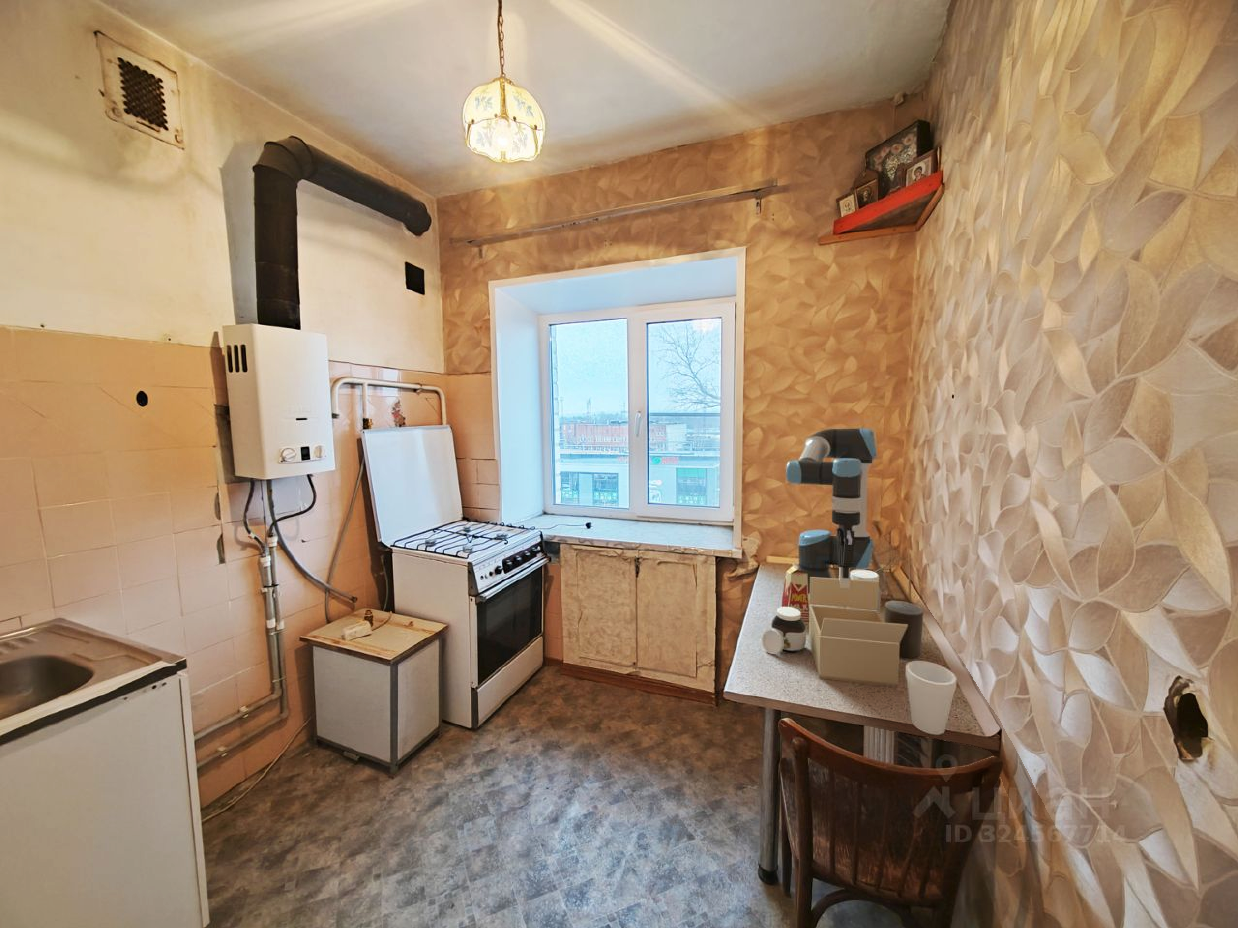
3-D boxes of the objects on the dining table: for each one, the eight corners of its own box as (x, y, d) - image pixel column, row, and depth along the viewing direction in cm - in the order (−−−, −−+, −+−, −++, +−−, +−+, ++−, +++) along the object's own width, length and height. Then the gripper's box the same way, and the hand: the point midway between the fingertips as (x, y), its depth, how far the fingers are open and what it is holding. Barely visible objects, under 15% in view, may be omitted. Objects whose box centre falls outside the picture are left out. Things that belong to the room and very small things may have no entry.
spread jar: (807, 645, 139) (808, 609, 138) (801, 663, 130) (802, 625, 128) (768, 636, 145) (768, 602, 144) (759, 653, 136) (759, 616, 134)
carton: (808, 641, 141) (809, 605, 140) (875, 647, 136) (877, 610, 135) (819, 678, 122) (820, 636, 121) (897, 687, 117) (899, 644, 116)
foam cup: (894, 712, 108) (896, 662, 106) (930, 709, 108) (933, 659, 107) (924, 741, 98) (927, 686, 97) (963, 737, 99) (967, 682, 98)
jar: (847, 628, 148) (848, 576, 146) (846, 616, 157) (847, 566, 155) (881, 634, 144) (883, 580, 142) (878, 620, 153) (880, 570, 151)
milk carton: (812, 625, 152) (813, 568, 150) (784, 623, 154) (784, 567, 151) (807, 612, 161) (808, 559, 158) (780, 611, 163) (780, 558, 160)
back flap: (879, 581, 133) (878, 581, 133) (810, 577, 138) (810, 577, 138) (877, 609, 135) (877, 608, 135) (809, 604, 140) (809, 603, 140)
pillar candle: (901, 661, 129) (904, 612, 127) (875, 644, 138) (877, 598, 136) (929, 656, 131) (932, 607, 129) (901, 640, 140) (903, 594, 139)
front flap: (824, 617, 115) (824, 618, 115) (907, 624, 110) (907, 625, 110) (820, 634, 121) (820, 635, 121) (899, 641, 116) (899, 643, 116)
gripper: (828, 505, 140) (826, 578, 143) (836, 514, 128) (835, 594, 130) (854, 506, 138) (852, 580, 141) (865, 515, 126) (863, 596, 128)
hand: (844, 586), depth 135 cm, fingers closed
